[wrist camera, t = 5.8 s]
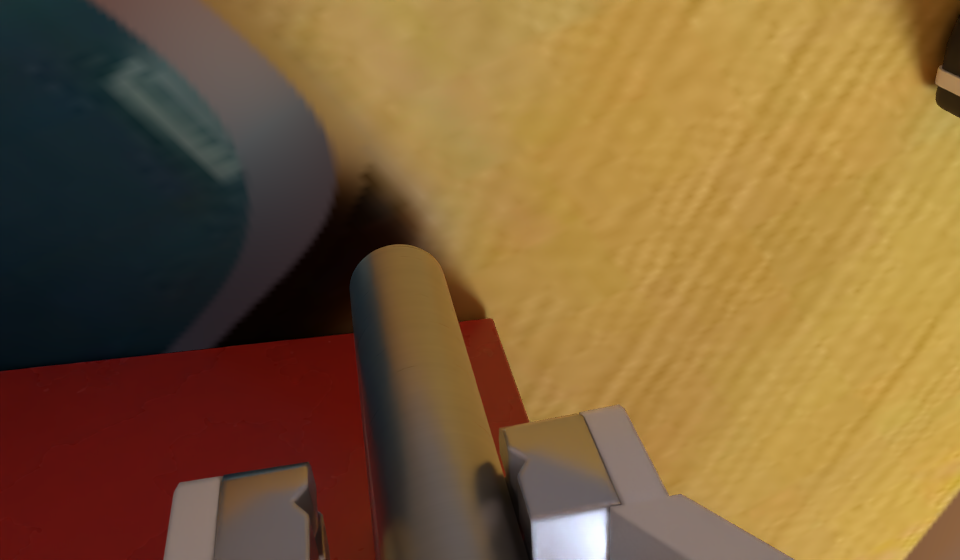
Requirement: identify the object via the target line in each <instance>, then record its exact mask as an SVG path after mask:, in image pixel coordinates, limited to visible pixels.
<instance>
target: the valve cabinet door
mask: <svg viewBox="0 0 960 560" xmlns="http://www.w3.org/2000/svg"><path fill="white" fill-rule="evenodd" d="M350 300H351V311H352V321H353V332H354V333H348V334H339V335H330V336H320V337H311V338H302V339H293V340H283V341H274V342H265V343H256V344H246V345H237V346H228V347H218V348H209V349H201V350H191V351H182V352H172V353H163V354H154V355H144V356H135V357H126V358H116V359H107V360H98V361H89V362H79V363H70V364H61V365H52V366H42V367H33V368H24V369H14V370H5V371H0V560H163V559H164V552H165V546H166V539H167V533H168V526H169V519H170V513H171V506H172V500H173V493H174V491H175V489H176V487H177V486H178V484H179V482H185V481H192V480H198V479H205V478H211V477H218V476H224V475H226V474H232V473H238V472H245V471H251V470H258V469H264V468H271V467H277V466H284V465H290V464H297V463H303V462H309V463H310V465H311V468H312V472H313V476H314V480H315V484H316V491H317V510H318V511H319V512H320V513H321V514H323V519H324V523H325V528H326V534H327V539H328V545H329V552H330V560H529V559H528V556H527V552H526V549H525V545H524V542H523V539H522V535H521V532H520V529H519V525H518V522H517V518H516V515H515V512H514V508H513V505H512V502H511V498H510V495H509V492H508V488H507V485H506V481H505V476H506V473H505V470H504V466H503V463H502V459H501V456H500V449H499V428H501V427H507V426H512V425H518V424H523V423H528V422H529V419H528V416H527V414H526V411H525V408H524V405H523V403H522V400H521V397H520V394H519V391H518V389H517V386H516V383H515V380H514V377H513V375H512V372H511V369H510V366H509V363H508V361H507V358H506V355H505V352H504V349H503V347H502V344H501V341H500V338H499V335H498V333H497V330H496V327H495V324H494V321H493V319H491V318H487V319H478V320H469V321H460V322H458V320H457V316H456V313H455V309H454V306H453V303H452V299H451V296H450V293H449V289H448V286H447V282H446V279H445V276H444V272H443V270H442V268H441V266H440V264H439V263H438V261H437V260H436V259H435V258H434V257H433V256H432V255H431V254H429V253H428V252H426V251H424V250H422V249H420V248H418V247H415V246H411V245H403V244H396V245H389V246H385V247H382V248H379V249H377V250H375V251H373V252H371V253H370V254H369V255H367V256H366V257H365V258H364V259H363V260H362V261H361V262H360V263H359V264H358V265H357V267H356V269H355V270H354V272H353V274H352V277H351V281H350Z"/></svg>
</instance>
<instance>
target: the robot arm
mask: <svg viewBox="0 0 960 560" xmlns="http://www.w3.org/2000/svg"><path fill="white" fill-rule="evenodd" d="M499 449H500V456H501V459H502V463H503V466H504V470H505V473H506V476H505V481H506V485H507V488H508V492H509V495H510V498H511V502H512V505H513V508H514V512H515V515H516V518H517V522H518V525H519V529H520V532H521V535H522V539H523V542H524V545H525V549H526V552H527V556H528V559H529V560H794V559H793V558H791V557H789V556H788V555H786V554H784V553H782V552H781V551H779V550H777V549H775V548H774V547H772V546H770V545H769V544H767V543H765V542H763V541H762V540H760V539H758V538H756V537H755V536H753V535H751V534H750V533H748V532H746V531H744V530H743V529H741V528H739V527H737V526H736V525H734V524H732V523H731V522H729V521H727V520H725V519H724V518H722V517H720V516H718V515H717V514H715V513H713V512H712V511H710V510H708V509H706V508H705V507H703V506H701V505H699V504H698V503H696V502H694V501H693V500H691V499H689V498H687V497H686V496H684V495H682V494H678V495H673V496H669V494H668V492H667V490H666V488H665V487H664V485H663V483H662V481H661V479H660V477H659V475H658V473H657V471H656V469H655V467H654V465H653V463H652V461H651V459H650V457H649V455H648V453H647V451H646V450H645V448H644V446H643V444H642V442H641V440H640V438H639V436H638V434H637V432H636V430H635V428H634V426H633V424H632V422H631V420H630V418H629V416H628V414H627V413H626V411H625V409H624V408H623V407H621V406H620V405H614V406H609V407H604V408H599V409H593V410H588V411H583V412H580V413H579V414H572V415H566V416H561V417H555V418H550V419H545V420H539V421H534V422H528V423H523V424H518V425H512V426H507V427H501V428H499ZM163 560H330V552H329V545H328V539H327V534H326V528H325V523H324V519H323V514H321V513H320V512H319V511H318V510H317V491H316V484H315V480H314V476H313V472H312V468H311V465H310V463H309V462H303V463H297V464H290V465H284V466H277V467H271V468H264V469H258V470H251V471H245V472H238V473H232V474H226V475H224V476H218V477H211V478H205V479H198V480H192V481H185V482H179V484H178V486H177V487H176V489H175V491H174V493H173V500H172V506H171V513H170V519H169V526H168V533H167V539H166V546H165V552H164V559H163Z"/></svg>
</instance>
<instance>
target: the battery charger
mask: <svg viewBox="0 0 960 560" xmlns="http://www.w3.org/2000/svg"><path fill="white" fill-rule="evenodd" d="M935 84H937V85H938V88H937V92H936V102H937V105H939V106H940V107H941V108H942V109H944V110H946V111H948V112H950V113H952V114H953V115H955V116H957V117H959V118H960V16H959V18H958V19H957V21H956V24H955V26H954V29H953V31H952V34H951V36H950V38H949V41H948V43H947V48H946V52H945V56H944V61H943V65H940V66H939V68H938V70H937V75H936V79H935Z"/></svg>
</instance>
